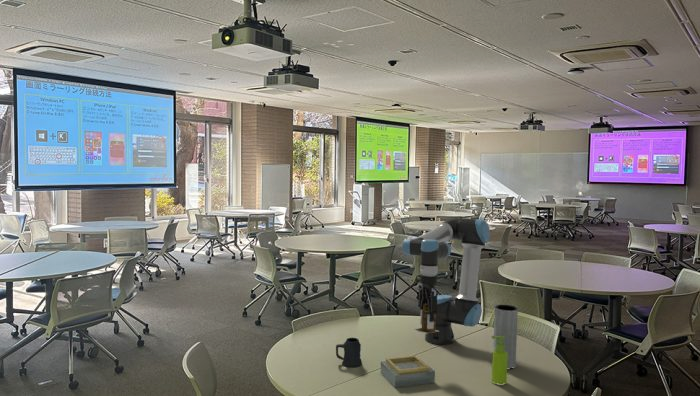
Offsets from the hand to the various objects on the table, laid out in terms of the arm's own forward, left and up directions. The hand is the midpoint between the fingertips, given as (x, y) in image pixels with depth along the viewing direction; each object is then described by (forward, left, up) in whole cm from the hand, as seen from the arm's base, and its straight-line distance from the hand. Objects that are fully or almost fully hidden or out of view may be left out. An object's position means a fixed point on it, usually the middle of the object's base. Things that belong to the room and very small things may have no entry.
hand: (426, 326), depth 234 cm
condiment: (0, 0, -2) cm, 2 cm away
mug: (+31, -16, -20) cm, 40 cm away
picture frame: (+12, +5, -20) cm, 23 cm away
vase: (-37, +5, -20) cm, 42 cm away
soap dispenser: (-23, +21, -20) cm, 37 cm away
